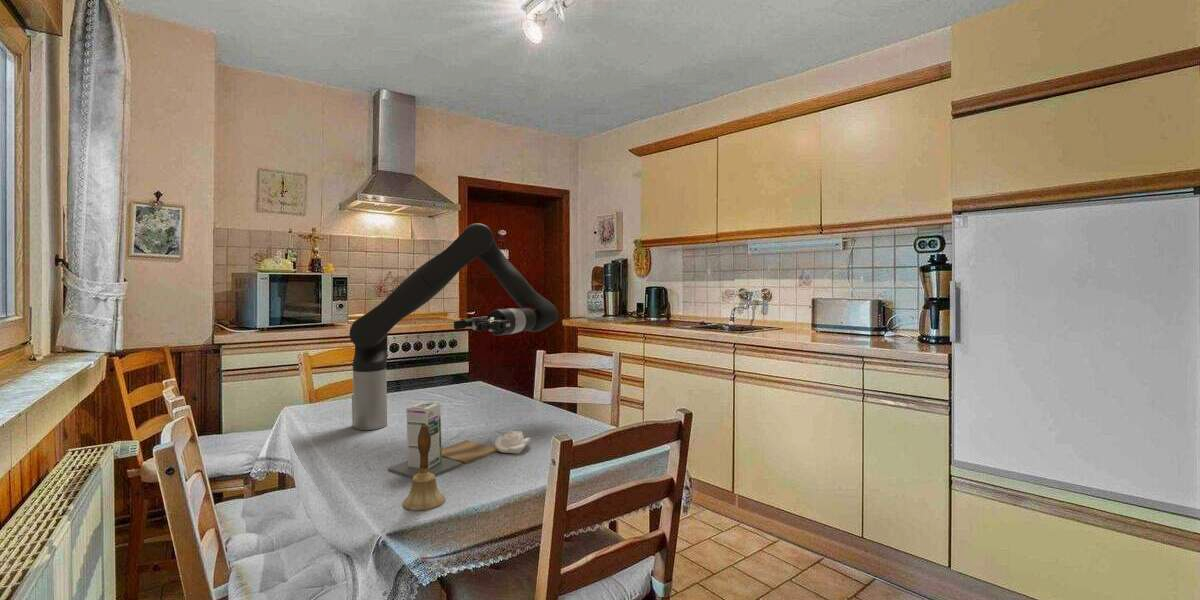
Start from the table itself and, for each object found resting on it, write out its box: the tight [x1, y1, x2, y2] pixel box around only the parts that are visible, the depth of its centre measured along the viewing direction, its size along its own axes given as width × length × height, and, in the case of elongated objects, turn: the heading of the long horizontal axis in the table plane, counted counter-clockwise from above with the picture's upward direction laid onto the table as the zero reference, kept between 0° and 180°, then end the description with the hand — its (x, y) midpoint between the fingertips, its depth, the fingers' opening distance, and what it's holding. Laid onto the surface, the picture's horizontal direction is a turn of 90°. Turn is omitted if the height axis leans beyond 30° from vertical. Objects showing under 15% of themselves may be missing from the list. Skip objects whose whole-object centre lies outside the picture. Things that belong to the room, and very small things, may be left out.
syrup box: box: [405, 401, 442, 469], centre depth 132 cm, size 6×6×14 cm
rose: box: [493, 429, 532, 454], centre depth 146 cm, size 10×4×10 cm
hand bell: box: [402, 425, 446, 511], centre depth 113 cm, size 8×8×16 cm
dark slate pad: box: [387, 457, 463, 479], centre depth 132 cm, size 12×12×1 cm
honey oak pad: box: [441, 439, 499, 465], centre depth 143 cm, size 12×12×1 cm
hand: (465, 326), depth 148 cm, fingers open, 8 cm apart
